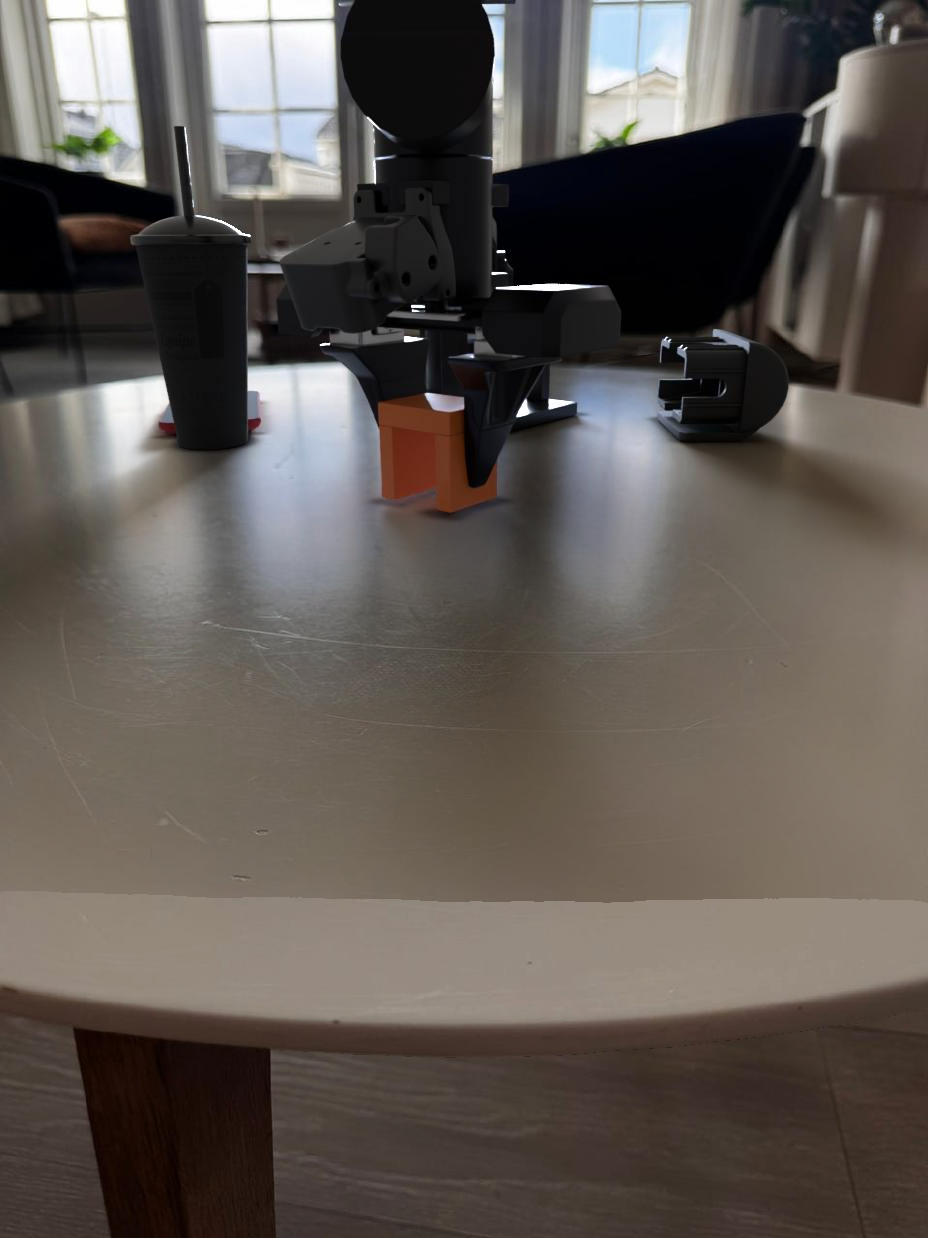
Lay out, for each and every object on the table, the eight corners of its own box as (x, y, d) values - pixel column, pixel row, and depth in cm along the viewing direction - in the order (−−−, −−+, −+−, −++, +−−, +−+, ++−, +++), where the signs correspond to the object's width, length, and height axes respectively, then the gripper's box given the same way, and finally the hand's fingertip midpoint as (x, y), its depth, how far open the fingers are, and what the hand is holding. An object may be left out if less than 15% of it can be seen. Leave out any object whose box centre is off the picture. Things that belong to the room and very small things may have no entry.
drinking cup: (287, 435, 68) (263, 129, 60) (231, 457, 61) (196, 116, 54) (198, 429, 70) (164, 134, 63) (135, 450, 64) (88, 122, 56)
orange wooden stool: (381, 497, 51) (377, 401, 49) (429, 483, 54) (427, 392, 52) (450, 513, 48) (449, 412, 46) (497, 497, 51) (498, 401, 49)
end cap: (782, 442, 64) (795, 342, 62) (681, 443, 64) (689, 342, 62) (743, 416, 74) (753, 328, 71) (654, 417, 74) (660, 328, 71)
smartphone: (259, 390, 82) (260, 418, 68) (260, 400, 82) (261, 431, 69) (173, 393, 81) (157, 423, 67) (174, 403, 81) (158, 435, 67)
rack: (414, 427, 71) (411, 317, 68) (508, 405, 79) (509, 307, 76) (486, 438, 67) (486, 322, 64) (577, 414, 75) (581, 311, 72)
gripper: (176, 162, 44) (212, 482, 50) (481, 135, 33) (480, 548, 39) (345, 172, 52) (359, 447, 58) (636, 153, 41) (616, 495, 47)
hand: (439, 479), depth 50 cm, fingers closed on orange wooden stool, 5 cm apart
